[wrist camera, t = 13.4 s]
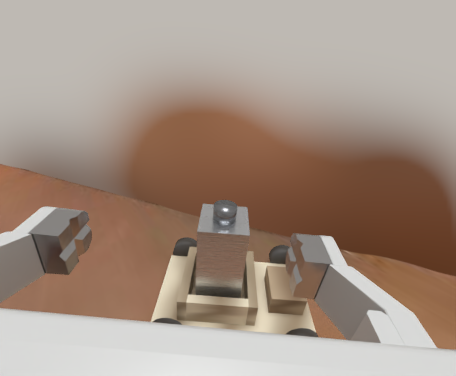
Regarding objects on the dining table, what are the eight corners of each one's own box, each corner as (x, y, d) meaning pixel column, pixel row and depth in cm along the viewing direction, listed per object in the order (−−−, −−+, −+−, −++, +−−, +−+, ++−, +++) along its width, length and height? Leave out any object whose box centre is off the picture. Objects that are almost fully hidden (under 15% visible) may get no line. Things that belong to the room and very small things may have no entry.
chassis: (144, 353, 26) (141, 325, 24) (174, 255, 38) (173, 231, 36) (319, 366, 26) (331, 340, 24) (292, 264, 39) (298, 241, 36)
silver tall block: (195, 307, 29) (197, 218, 23) (200, 274, 34) (203, 192, 28) (238, 310, 29) (251, 222, 23) (237, 277, 34) (248, 195, 28)
